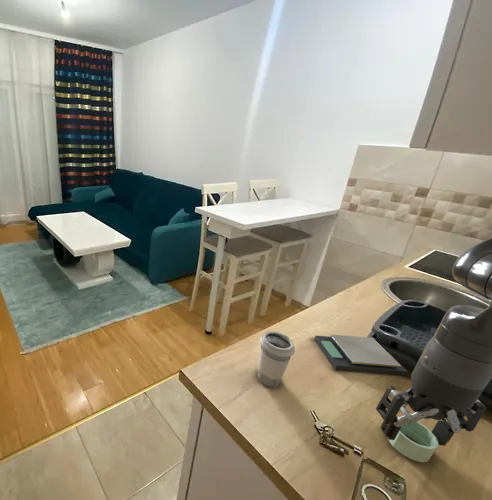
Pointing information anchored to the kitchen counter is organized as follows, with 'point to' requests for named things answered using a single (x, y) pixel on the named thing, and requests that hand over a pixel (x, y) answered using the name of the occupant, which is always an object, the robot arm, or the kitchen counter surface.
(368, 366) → the scale
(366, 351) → the scale pan
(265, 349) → the cup
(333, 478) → the kitchen counter surface
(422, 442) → the bowl
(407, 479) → the kitchen counter surface
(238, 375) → the kitchen counter surface
